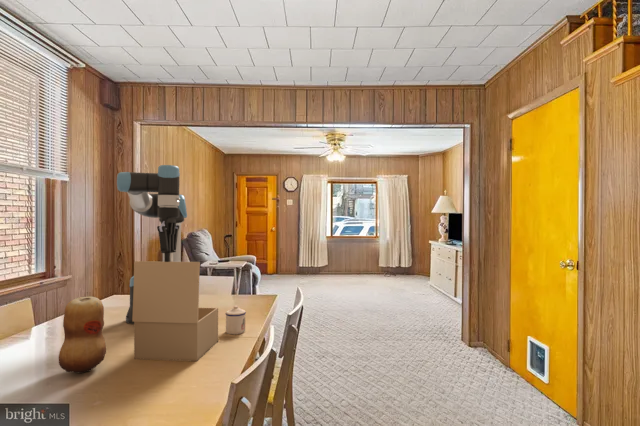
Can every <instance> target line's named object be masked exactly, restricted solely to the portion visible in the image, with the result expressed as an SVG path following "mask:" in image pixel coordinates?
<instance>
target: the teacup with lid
mask: <svg viewBox="0 0 640 426" xmlns="http://www.w3.org/2000/svg"><path fill="white" fill-rule="evenodd" d="M232 307H233V308H231V309H228V310H227V311H225V314H224V315H225V332H226V334H228V335H240V334H243V333H245V331H246V313H247V312H246V310H245V309H242V308H241V307H239V306H238V305H233V306H232Z"/></svg>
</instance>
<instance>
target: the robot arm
mask: <svg viewBox="0 0 640 426" xmlns="http://www.w3.org/2000/svg"><path fill="white" fill-rule="evenodd" d="M180 175H181V173H180V168H179V166H178V165H173V164H172V165H171V164H162V165H158V168H157V172H155V173H154V172H136V171H135V172H134V171H133V172H132V171H131V172H129V171H123V172H122V171H120V172H119V173H117V176H116V188H117V191H119V192H123V193H127V195H128V198H129V206H130V208H131V209H132V210H133V211H134V212H135V213H137V214H139V215H141V216H143V217H146V218H153V219H154V218H156V219H157V218H158V222H159V223H160V225H158V226H157V227H156V228H157V229H156V230H157V231H158V237H159V248H160V253H161V254H162V262H182V259H181V258H182V252H181V251H182V224H183V223H184V222H185V219H186V218H188V213H187V204H186V198H185V196H184V195H183V194H180ZM133 290H134V275H132V277H131V276H130V279H129V307H128V309H127V313H126V315H125V323H126V324H129V325H130V324H131V325H134V322H132V317H133Z"/></svg>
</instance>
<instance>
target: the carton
mask: <svg viewBox="0 0 640 426" xmlns="http://www.w3.org/2000/svg"><path fill="white" fill-rule="evenodd" d="M133 325H134V326H133V327H134V328H133V329H134V332H133V334H134V335H133V337H134V338H133V340H134V341H133V342H134V343H133V347H134V348H133V349H134V350H133V354H134V355H133V356H134V357H133V359H134V360H155V361H156V360H158V361H182V362H185V361H186V362H199V360H200V359H201V358H202V357H203V356H204V355H205V354H206V353H207V352H209V350H211V348H213V347H214V346H215V345H216V344H217V343H219V307H199V311H198V323H169V322H134V324H133Z"/></svg>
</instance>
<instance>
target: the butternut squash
mask: <svg viewBox="0 0 640 426" xmlns="http://www.w3.org/2000/svg"><path fill="white" fill-rule="evenodd" d="M104 313H105V308H104V305H103V302H102V300H100V299H99V298H98V297H95V296H81V297H76V298H74V299H72V300H71V301H69V302H68V303H67V304H66V306H65V309H64V313H63V314H64V315H63V321H62V327H63V332H64V334H63V335H64V340H63V343H62V345H61V348H60V350H59V352H58V365H59V367H60V368H61V369H62V370H64V371H65V372H67V373H75V374H76V373H79V374H83V373H87V372H90V371H92V370H93V369H95V368H96V367H97V366H99V365H100V364H101V363H102V362H103V361H104V360H105V356H106V354H107V344H106V341H105V338H104V334H103V328H104V325H105V320H104V315H105V314H104Z"/></svg>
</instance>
